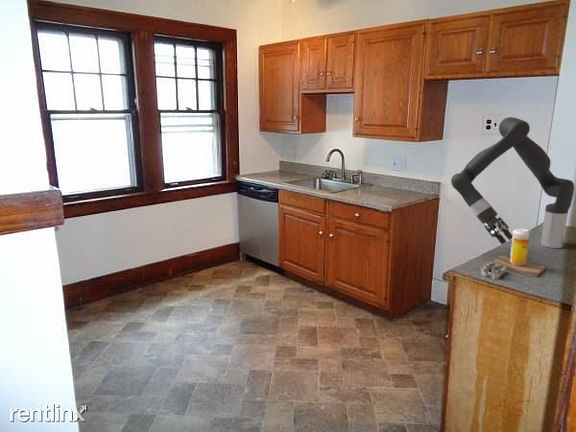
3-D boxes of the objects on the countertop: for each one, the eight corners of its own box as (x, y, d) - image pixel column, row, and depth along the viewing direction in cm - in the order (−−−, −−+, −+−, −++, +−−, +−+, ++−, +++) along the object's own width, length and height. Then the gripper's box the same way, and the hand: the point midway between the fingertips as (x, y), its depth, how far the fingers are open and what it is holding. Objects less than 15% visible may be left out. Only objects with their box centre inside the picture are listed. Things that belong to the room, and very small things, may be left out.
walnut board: (501, 258, 186) (501, 255, 186) (546, 268, 174) (546, 265, 173) (490, 265, 178) (490, 262, 177) (536, 277, 165) (536, 273, 165)
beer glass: (527, 266, 172) (531, 232, 168) (512, 265, 173) (515, 231, 170) (523, 261, 178) (526, 228, 174) (507, 260, 179) (511, 227, 175)
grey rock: (496, 280, 163) (497, 271, 162) (477, 275, 169) (478, 266, 168) (507, 273, 170) (508, 264, 169) (489, 268, 176) (490, 259, 175)
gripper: (483, 208, 174) (509, 239, 169) (496, 203, 184) (521, 232, 179) (470, 218, 179) (494, 249, 174) (483, 212, 189) (506, 241, 184)
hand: (508, 240), depth 176 cm, fingers open, 8 cm apart
